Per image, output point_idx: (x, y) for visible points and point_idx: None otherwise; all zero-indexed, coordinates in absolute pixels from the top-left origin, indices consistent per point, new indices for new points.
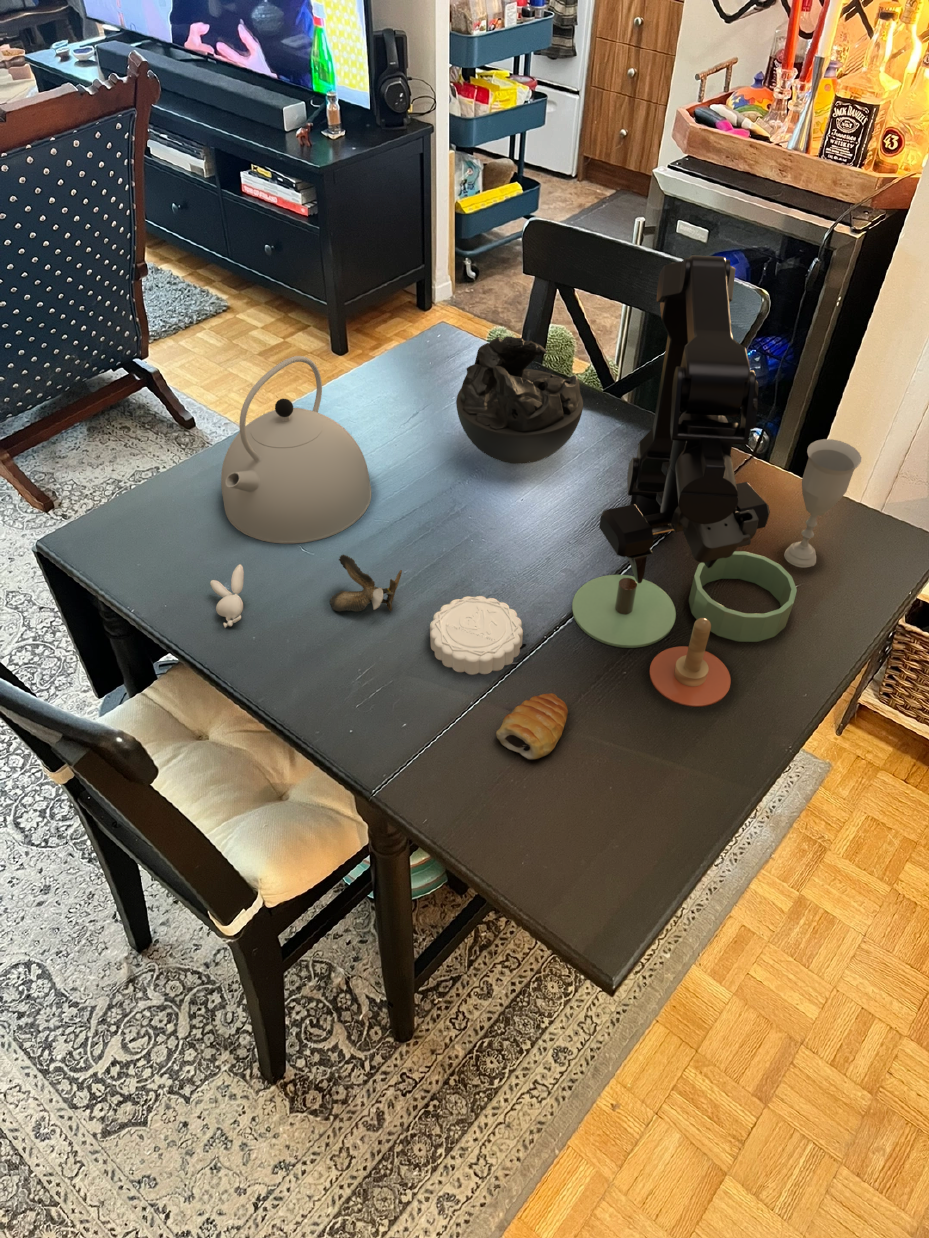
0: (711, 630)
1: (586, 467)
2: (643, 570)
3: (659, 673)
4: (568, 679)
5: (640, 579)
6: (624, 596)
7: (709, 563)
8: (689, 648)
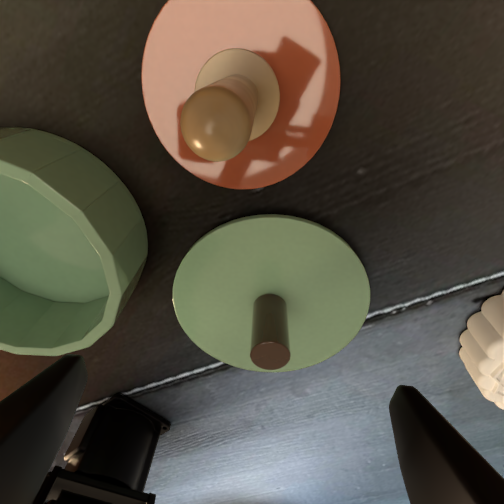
0: (127, 199)
1: (170, 498)
2: (465, 473)
3: (304, 130)
4: (475, 200)
5: (425, 407)
6: (284, 330)
7: (65, 378)
8: (255, 113)
